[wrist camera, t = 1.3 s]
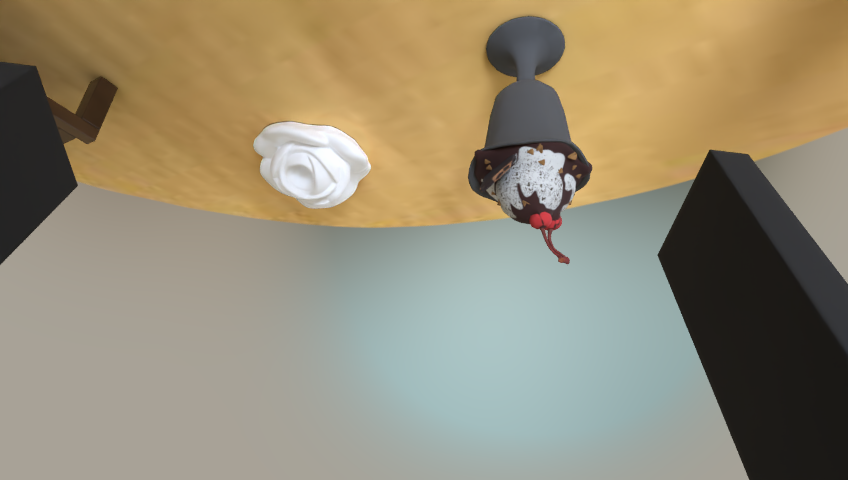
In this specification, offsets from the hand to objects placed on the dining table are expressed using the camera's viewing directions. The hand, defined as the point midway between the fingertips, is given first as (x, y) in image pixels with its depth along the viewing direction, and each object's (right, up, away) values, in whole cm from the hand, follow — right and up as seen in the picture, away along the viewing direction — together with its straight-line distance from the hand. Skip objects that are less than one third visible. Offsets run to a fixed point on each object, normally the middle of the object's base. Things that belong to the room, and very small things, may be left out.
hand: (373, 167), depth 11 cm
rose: (-8, +6, +36) cm, 37 cm away
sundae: (+8, +11, +24) cm, 28 cm away
